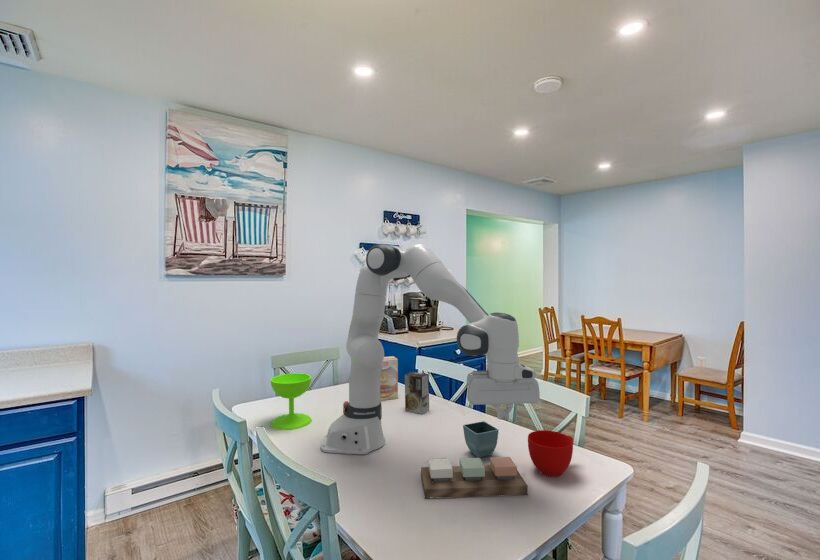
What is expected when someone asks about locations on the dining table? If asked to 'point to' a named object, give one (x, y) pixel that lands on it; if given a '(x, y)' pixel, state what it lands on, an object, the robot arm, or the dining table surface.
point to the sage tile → (472, 468)
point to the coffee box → (417, 392)
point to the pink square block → (503, 467)
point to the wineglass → (291, 399)
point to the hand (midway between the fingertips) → (503, 418)
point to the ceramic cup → (550, 451)
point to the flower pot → (480, 438)
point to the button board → (472, 485)
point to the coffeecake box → (389, 379)
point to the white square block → (440, 470)
